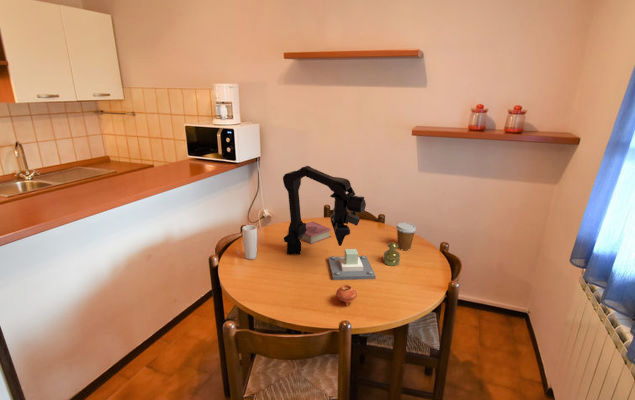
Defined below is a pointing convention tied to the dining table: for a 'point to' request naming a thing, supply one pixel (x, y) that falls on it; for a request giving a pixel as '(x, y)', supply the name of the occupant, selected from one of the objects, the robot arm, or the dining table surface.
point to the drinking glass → (250, 241)
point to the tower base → (350, 273)
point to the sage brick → (351, 256)
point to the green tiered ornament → (392, 255)
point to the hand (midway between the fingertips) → (338, 241)
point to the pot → (346, 294)
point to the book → (315, 233)
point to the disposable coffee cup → (405, 235)
